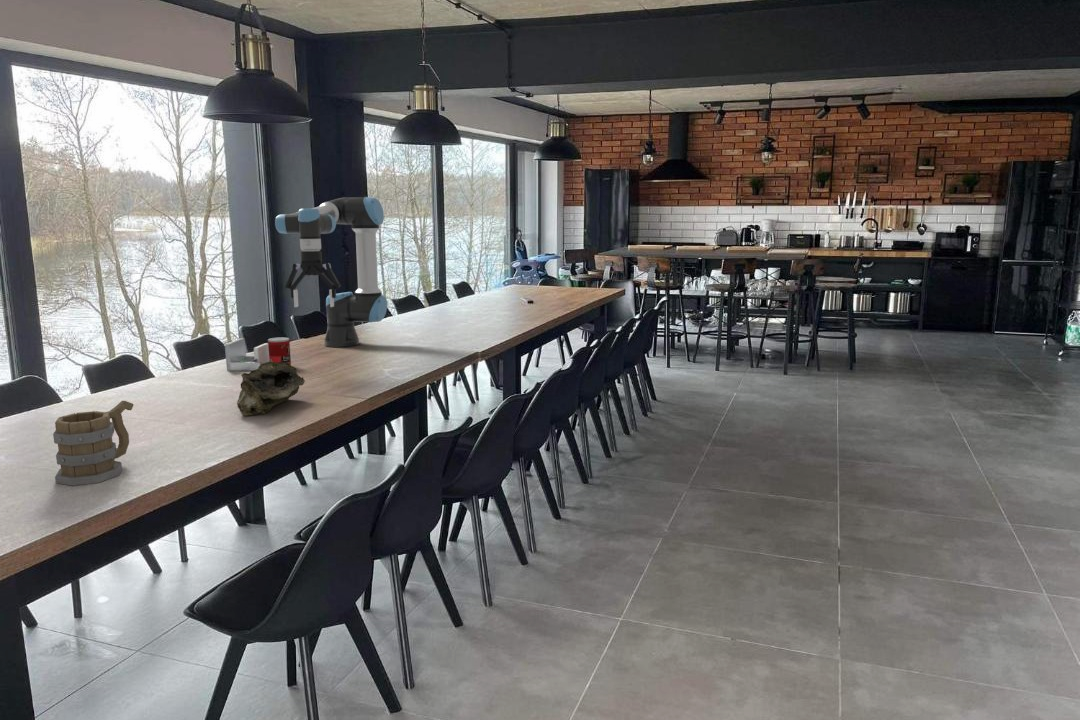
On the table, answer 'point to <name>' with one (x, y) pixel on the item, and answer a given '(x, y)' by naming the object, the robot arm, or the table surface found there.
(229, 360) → the frame
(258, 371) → the hollow geode rock
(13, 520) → the table surface
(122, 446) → the tankard
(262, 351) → the white flat block
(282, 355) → the canned food
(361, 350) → the table surface
